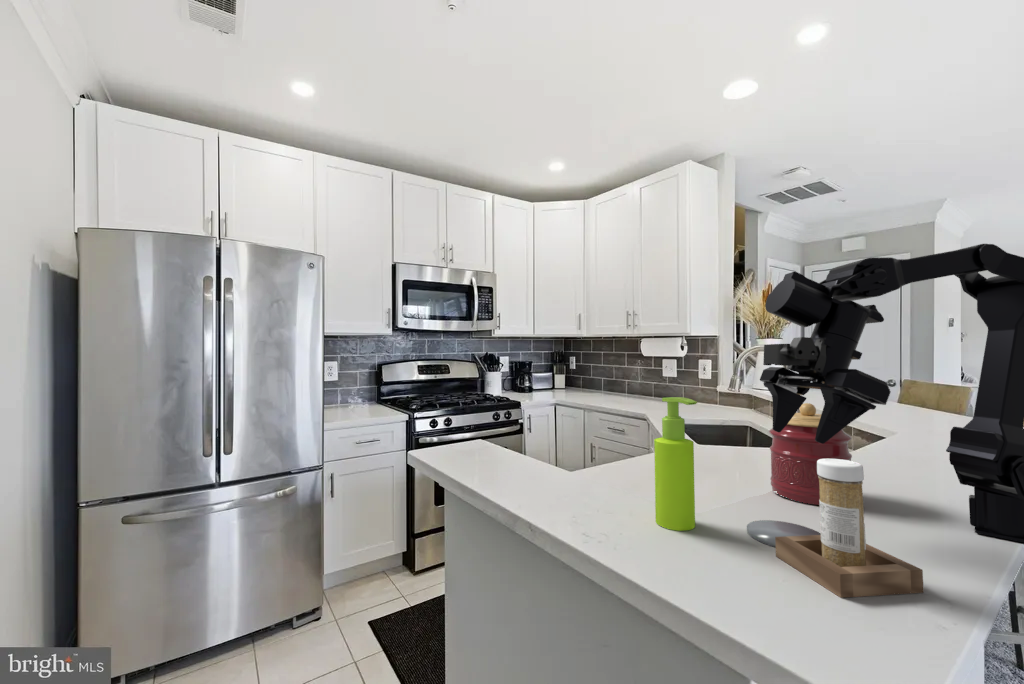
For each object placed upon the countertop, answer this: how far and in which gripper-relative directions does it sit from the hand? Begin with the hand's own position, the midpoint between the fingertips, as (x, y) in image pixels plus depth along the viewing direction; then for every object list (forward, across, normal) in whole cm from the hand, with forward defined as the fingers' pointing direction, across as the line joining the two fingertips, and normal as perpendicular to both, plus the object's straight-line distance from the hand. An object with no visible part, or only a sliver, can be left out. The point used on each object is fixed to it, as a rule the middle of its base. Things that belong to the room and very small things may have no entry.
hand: (796, 436), depth 63 cm
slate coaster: (+14, 0, +4) cm, 15 cm away
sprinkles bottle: (+14, +10, +4) cm, 18 cm away
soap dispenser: (+20, -5, -9) cm, 22 cm away
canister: (+8, -19, +20) cm, 28 cm away
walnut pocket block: (+14, +10, +4) cm, 18 cm away
